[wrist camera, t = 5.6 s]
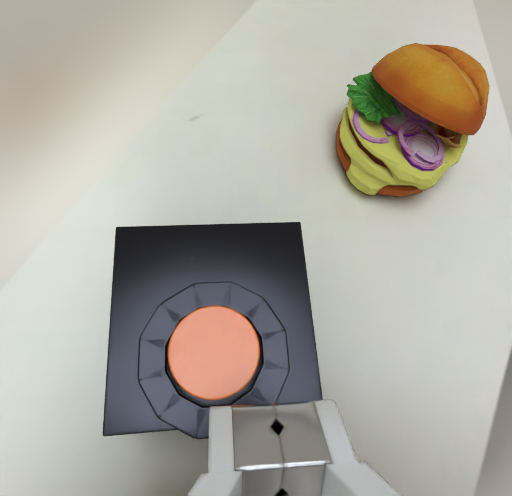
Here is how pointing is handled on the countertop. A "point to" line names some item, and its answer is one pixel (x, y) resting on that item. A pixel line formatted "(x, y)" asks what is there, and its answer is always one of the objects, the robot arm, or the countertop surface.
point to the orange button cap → (213, 352)
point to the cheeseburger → (411, 118)
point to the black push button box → (197, 296)
